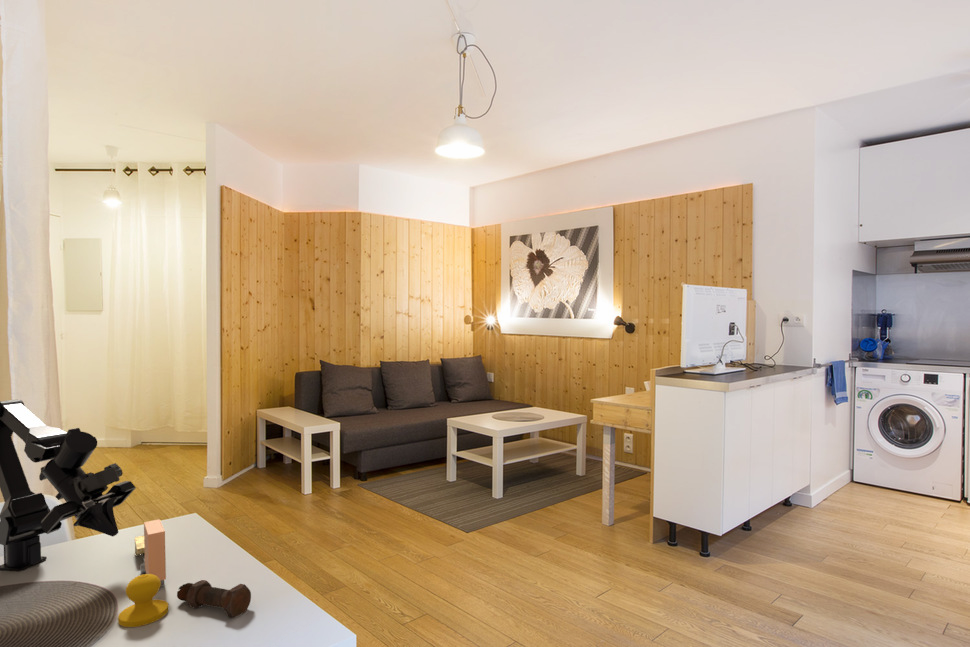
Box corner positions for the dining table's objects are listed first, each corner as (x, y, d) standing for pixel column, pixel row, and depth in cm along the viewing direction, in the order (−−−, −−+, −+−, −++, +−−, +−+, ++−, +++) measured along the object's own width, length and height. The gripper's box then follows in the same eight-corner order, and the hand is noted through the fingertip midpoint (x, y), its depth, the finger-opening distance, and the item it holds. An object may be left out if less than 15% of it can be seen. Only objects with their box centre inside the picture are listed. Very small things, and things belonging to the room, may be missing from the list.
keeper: (162, 559, 128) (162, 543, 128) (137, 564, 126) (136, 549, 126) (159, 547, 136) (158, 532, 136) (134, 552, 133) (134, 537, 133)
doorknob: (175, 603, 108) (157, 625, 100) (131, 607, 107) (109, 629, 99) (174, 565, 108) (157, 584, 100) (130, 568, 107) (108, 588, 99)
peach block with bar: (145, 590, 112) (144, 535, 112) (136, 554, 130) (135, 507, 130) (169, 584, 115) (168, 530, 115) (157, 550, 133) (157, 503, 132)
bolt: (187, 608, 110) (244, 619, 104) (166, 606, 106) (225, 618, 100) (198, 576, 112) (255, 586, 107) (178, 573, 108) (236, 583, 103)
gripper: (52, 466, 109) (101, 525, 107) (128, 445, 128) (171, 495, 126) (19, 504, 111) (67, 563, 109) (99, 478, 129) (141, 527, 127)
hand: (115, 534), depth 118 cm, fingers closed
